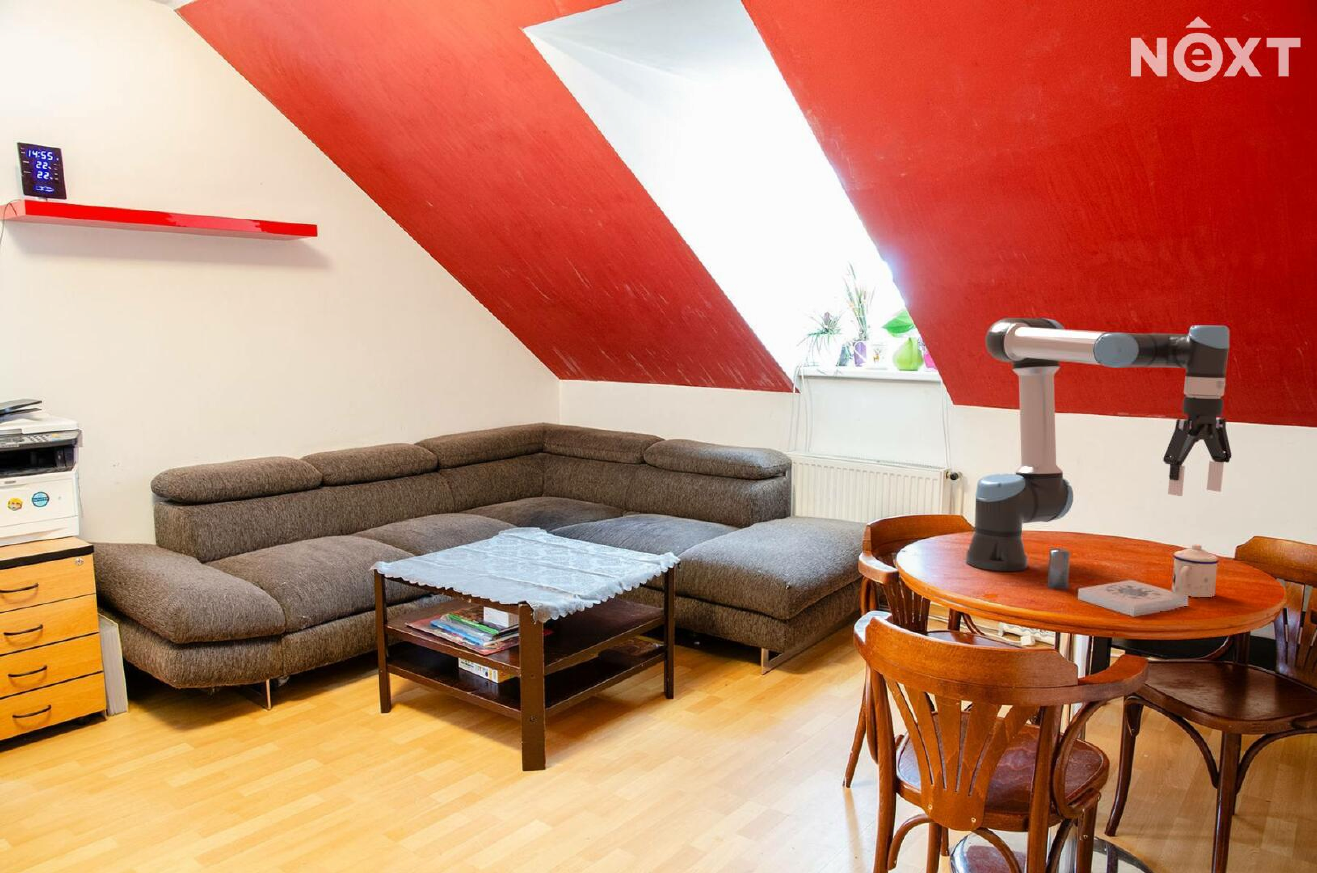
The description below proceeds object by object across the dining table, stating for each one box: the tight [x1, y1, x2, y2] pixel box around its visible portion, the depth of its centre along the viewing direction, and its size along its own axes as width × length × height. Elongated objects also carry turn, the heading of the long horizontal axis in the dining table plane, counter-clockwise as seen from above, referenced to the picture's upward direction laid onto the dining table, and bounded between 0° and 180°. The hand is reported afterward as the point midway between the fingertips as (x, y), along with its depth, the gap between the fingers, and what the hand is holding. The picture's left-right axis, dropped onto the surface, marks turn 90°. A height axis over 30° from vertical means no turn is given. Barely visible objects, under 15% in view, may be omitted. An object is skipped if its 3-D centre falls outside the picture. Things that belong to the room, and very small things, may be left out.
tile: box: [1077, 579, 1189, 617], centre depth 203 cm, size 14×18×2 cm
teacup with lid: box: [1171, 543, 1219, 598], centre depth 209 cm, size 12×9×12 cm
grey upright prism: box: [1047, 547, 1071, 591], centre depth 214 cm, size 4×4×9 cm
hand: (1194, 492), depth 198 cm, fingers open, 13 cm apart
